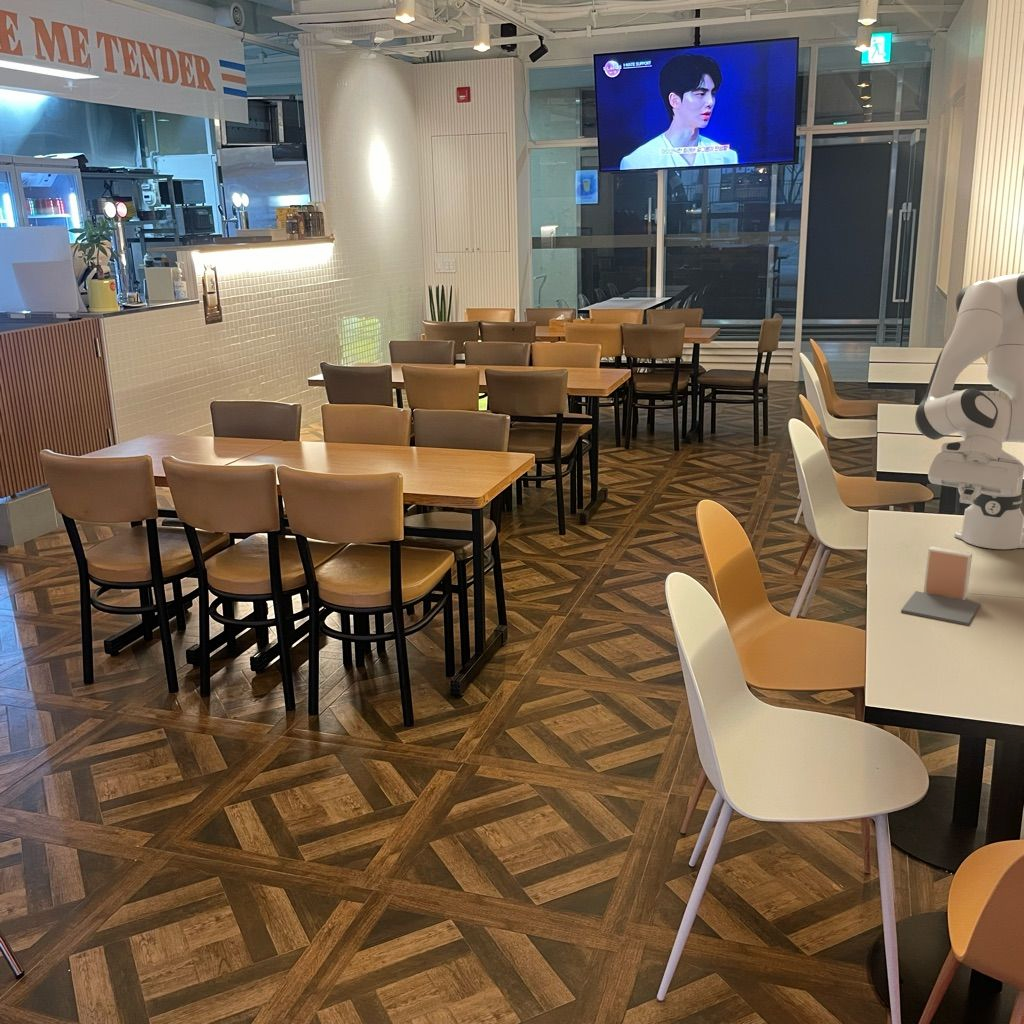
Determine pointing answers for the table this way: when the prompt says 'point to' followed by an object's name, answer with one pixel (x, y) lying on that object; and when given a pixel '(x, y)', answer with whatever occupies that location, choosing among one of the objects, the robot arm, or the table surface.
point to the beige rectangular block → (947, 572)
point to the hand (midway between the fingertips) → (965, 502)
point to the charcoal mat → (941, 607)
